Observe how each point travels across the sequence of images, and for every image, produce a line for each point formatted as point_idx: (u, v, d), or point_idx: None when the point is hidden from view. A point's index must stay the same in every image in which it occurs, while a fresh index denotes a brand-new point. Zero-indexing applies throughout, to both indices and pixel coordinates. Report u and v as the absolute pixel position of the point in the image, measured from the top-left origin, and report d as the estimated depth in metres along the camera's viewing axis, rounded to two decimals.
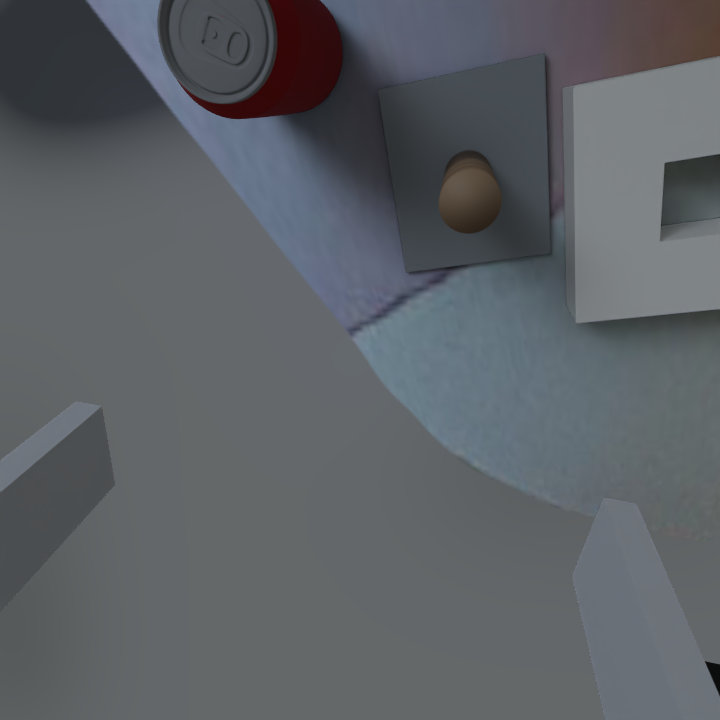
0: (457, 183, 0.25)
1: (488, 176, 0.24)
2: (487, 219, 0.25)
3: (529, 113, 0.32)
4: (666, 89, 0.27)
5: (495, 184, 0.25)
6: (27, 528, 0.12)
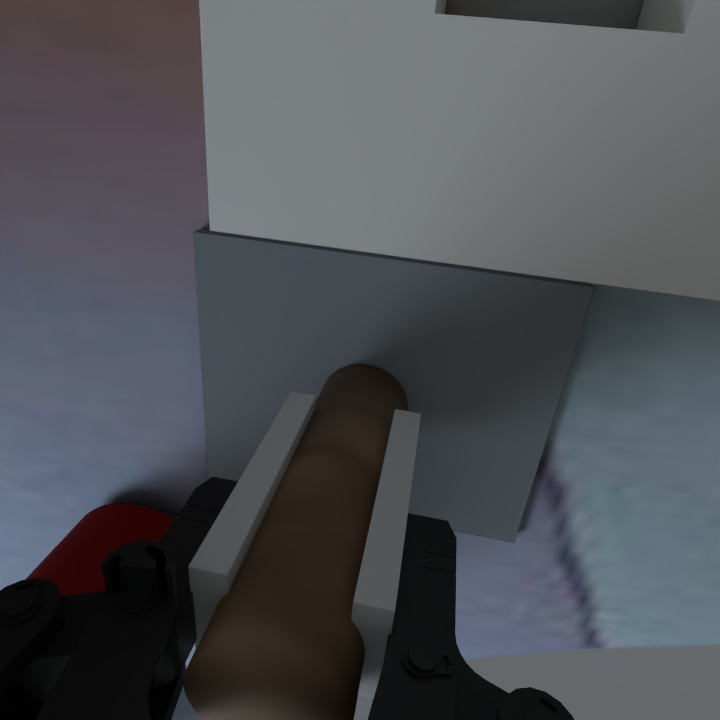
0: (213, 708, 0.09)
1: (204, 655, 0.09)
2: (321, 691, 0.08)
3: (287, 276, 0.16)
4: (247, 5, 0.10)
5: (227, 650, 0.08)
6: None
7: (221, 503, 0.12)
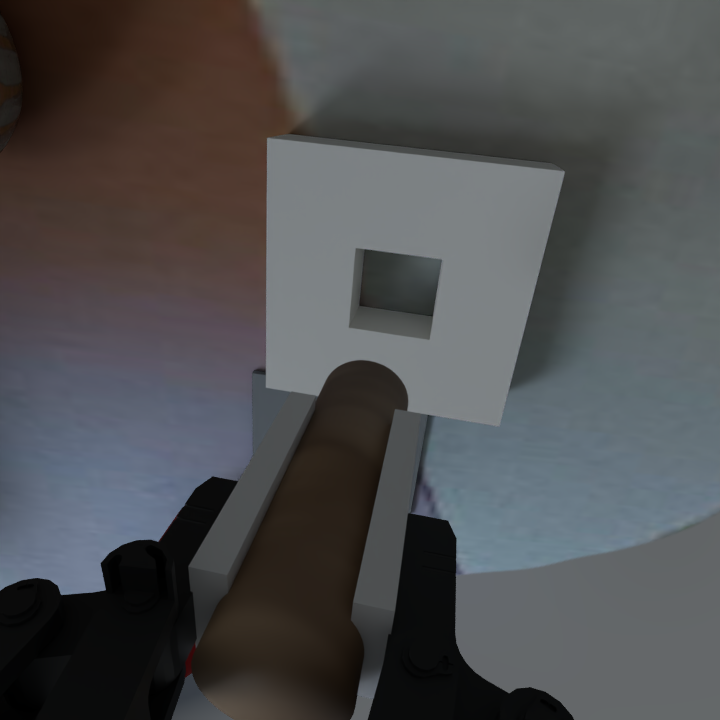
0: (219, 690, 0.09)
1: (211, 638, 0.09)
2: (324, 672, 0.09)
3: None
4: (283, 319, 0.29)
5: (234, 632, 0.09)
6: None
7: (221, 503, 0.12)
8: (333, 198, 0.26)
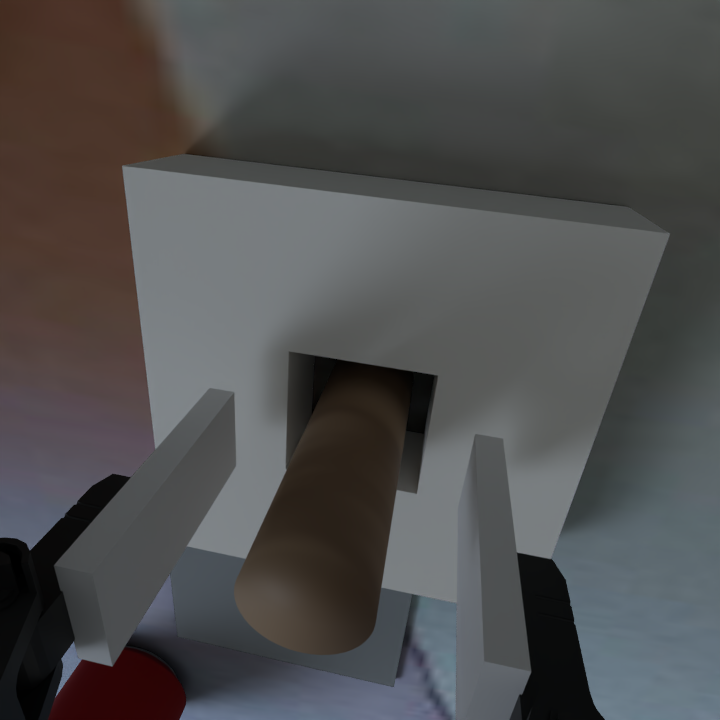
0: (258, 613, 0.11)
1: (253, 563, 0.10)
2: (350, 590, 0.10)
3: None
4: None
5: (273, 557, 0.10)
6: (187, 500, 0.13)
7: None
8: (247, 271, 0.15)
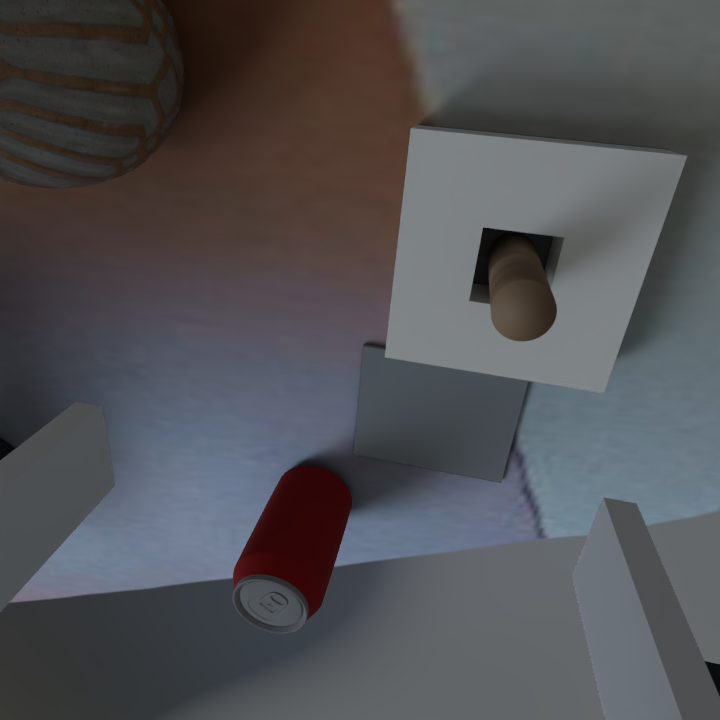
0: (500, 319, 0.25)
1: (504, 290, 0.24)
2: (547, 300, 0.24)
3: (402, 364, 0.38)
4: (408, 294, 0.32)
5: (514, 285, 0.24)
6: (27, 528, 0.12)
7: None
8: (467, 182, 0.29)
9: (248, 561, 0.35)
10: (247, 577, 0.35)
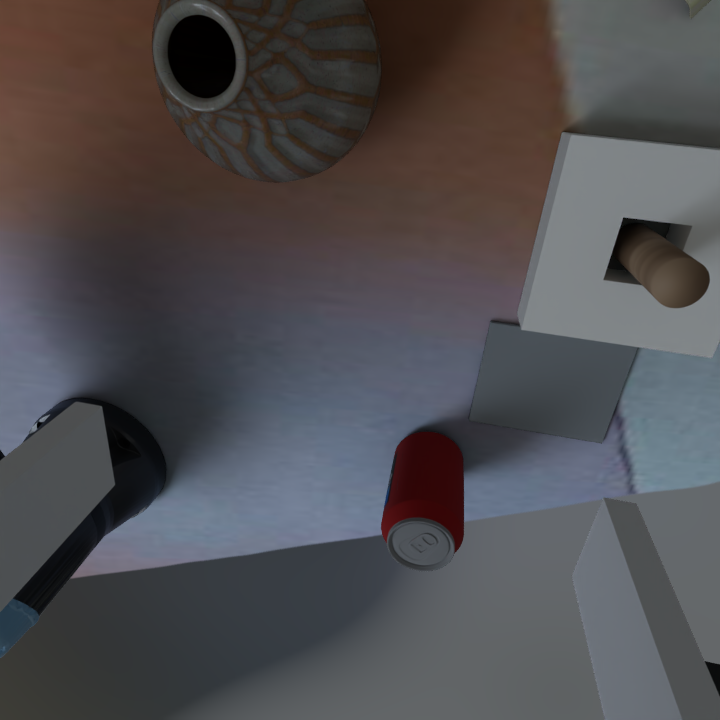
0: (660, 290, 0.31)
1: (667, 266, 0.30)
2: (702, 273, 0.30)
3: (524, 338, 0.44)
4: (550, 274, 0.38)
5: (676, 262, 0.30)
6: (27, 528, 0.12)
7: None
8: (614, 180, 0.34)
9: (400, 507, 0.41)
10: (403, 520, 0.40)
